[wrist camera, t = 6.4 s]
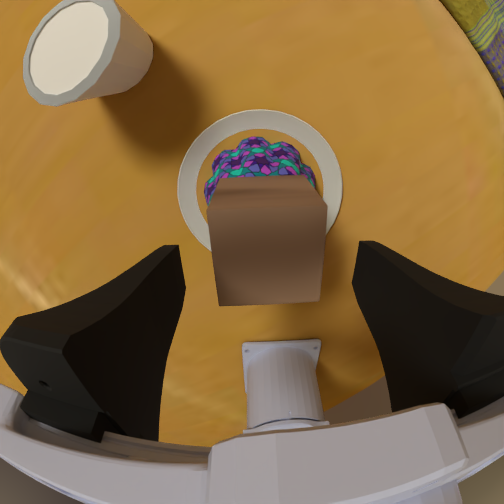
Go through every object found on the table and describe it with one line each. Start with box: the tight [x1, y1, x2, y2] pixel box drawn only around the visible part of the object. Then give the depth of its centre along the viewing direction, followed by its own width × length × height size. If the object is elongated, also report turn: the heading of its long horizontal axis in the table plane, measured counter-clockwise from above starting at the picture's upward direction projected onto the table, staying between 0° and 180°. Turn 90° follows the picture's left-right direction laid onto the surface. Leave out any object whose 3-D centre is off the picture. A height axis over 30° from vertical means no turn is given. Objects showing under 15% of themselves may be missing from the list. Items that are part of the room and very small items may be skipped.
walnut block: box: [207, 175, 328, 306], centre depth 13 cm, size 4×4×5 cm
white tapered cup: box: [23, 0, 153, 106], centre depth 12 cm, size 7×7×7 cm
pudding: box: [178, 109, 343, 252], centre depth 18 cm, size 12×12×5 cm
